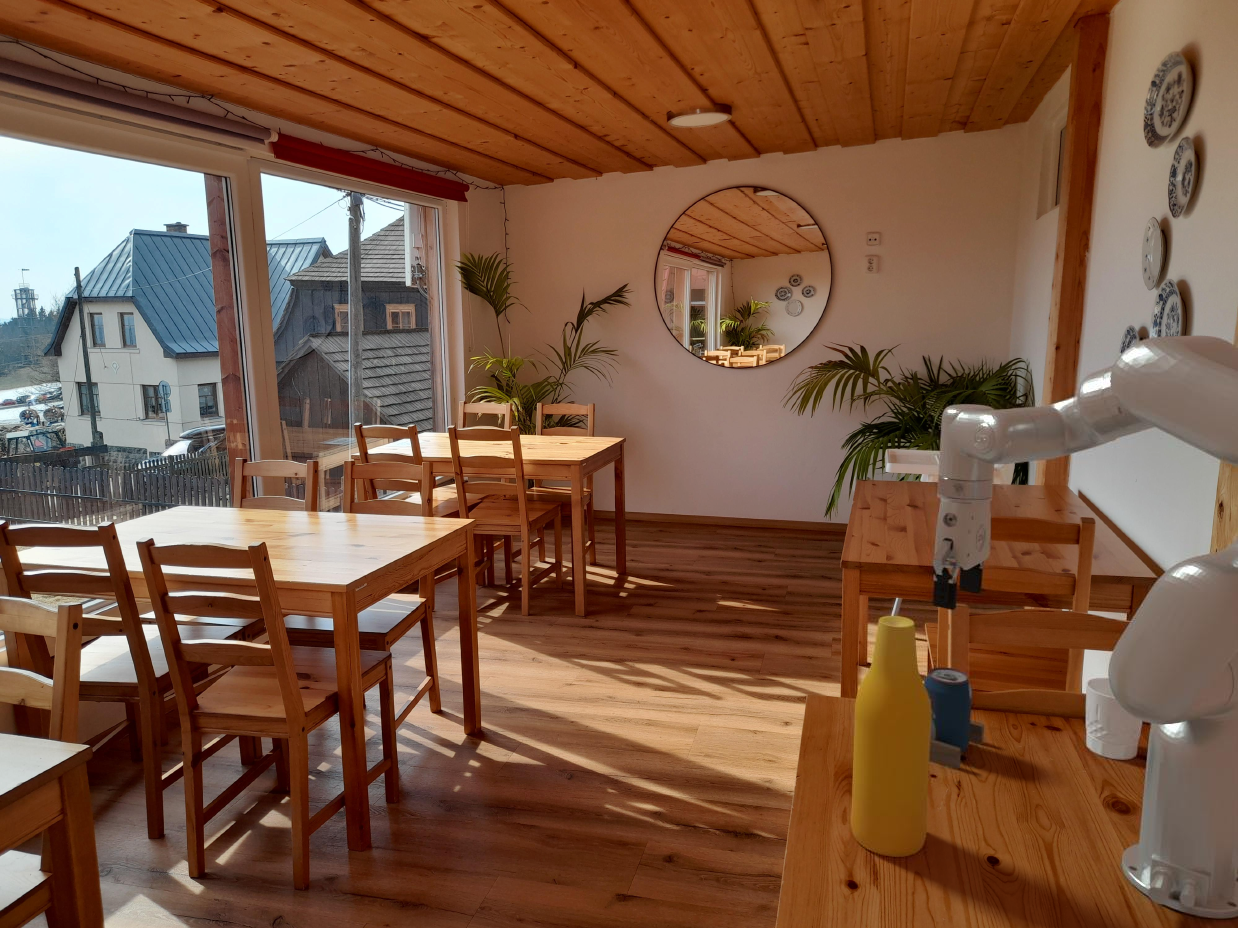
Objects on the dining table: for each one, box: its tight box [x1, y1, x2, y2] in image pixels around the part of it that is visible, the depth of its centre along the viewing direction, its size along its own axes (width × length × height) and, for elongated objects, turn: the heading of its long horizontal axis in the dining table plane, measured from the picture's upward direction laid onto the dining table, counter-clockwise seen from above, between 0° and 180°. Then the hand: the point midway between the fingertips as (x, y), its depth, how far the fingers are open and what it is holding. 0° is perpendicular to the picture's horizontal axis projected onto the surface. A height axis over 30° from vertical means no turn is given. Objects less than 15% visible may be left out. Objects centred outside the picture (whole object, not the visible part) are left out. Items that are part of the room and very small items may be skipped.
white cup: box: [1085, 677, 1143, 761], centre depth 129 cm, size 8×8×10 cm
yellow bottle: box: [850, 615, 931, 858], centre depth 106 cm, size 9×9×29 cm
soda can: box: [923, 666, 973, 756], centre depth 130 cm, size 7×7×12 cm
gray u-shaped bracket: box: [929, 719, 985, 770], centre depth 131 cm, size 11×9×3 cm
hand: (957, 599), depth 127 cm, fingers open, 9 cm apart
